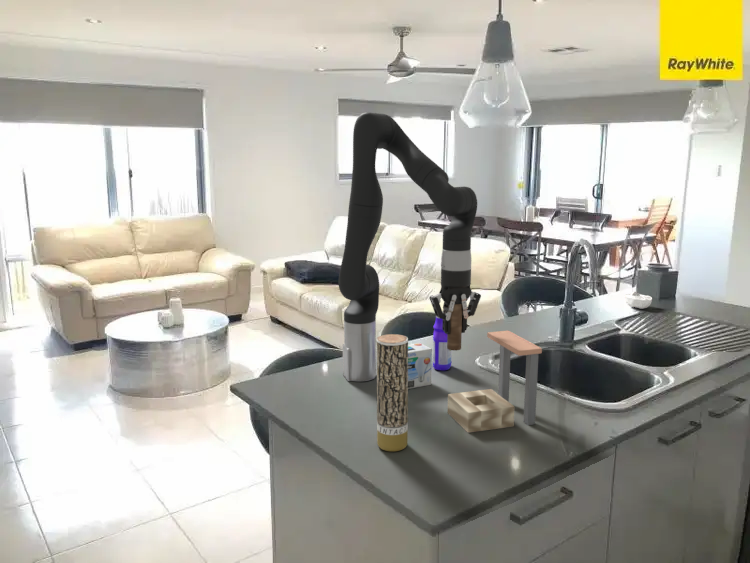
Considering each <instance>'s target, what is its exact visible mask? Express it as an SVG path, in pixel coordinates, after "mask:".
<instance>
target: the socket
mask: <svg viewBox="0 0 750 563" xmlns="http://www.w3.org/2000/svg"><path fill="white" fill-rule="evenodd" d="M447 415H449V416H450V417H451V418H452V419H453V420H454V421H455V422H456V423H457V424H459V426H460V427H461V428H463V430H465V431H466V432H467V433H475V432H482V431H489V430H496V429H497V430H498V429H504V428H511V427H514V426H515V406H514V405H513V404H512V403H511V402H508V401H506V400H505V399H504V398H502V397H501V396H500V395H498V393H497V392H496V391H495V390H493V388H490V389H489V388H488V389H479V390H472V391H471V390H470V391H464V392H454V393H448V394H447Z"/></svg>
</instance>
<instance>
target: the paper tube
mask: <svg viewBox="0 0 750 563" xmlns="http://www.w3.org/2000/svg"><path fill="white" fill-rule="evenodd" d="M408 345H409V338H408V336H406V335H403V334H397V333H393V334H392V333H391V334H383V335H379V336H376V430H377V432H376V433H377V434H376V436H377V437H376V438H377V441H376V444H377V446H378V448H379V449H381V450H383V451H386V452H391V453H392V452H399V451H402V450H404V449H405V448H406V447H407V446H408V437H409V436H408V430H409V429H408V428H409V426H408V424H409V423H408V422H409V420H408V419H409V416H408V415H409V414H408V413H409V412H408V410H409V407H408V406H409V389H408Z"/></svg>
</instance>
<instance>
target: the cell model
mask: <svg viewBox="0 0 750 563" xmlns="http://www.w3.org/2000/svg"><path fill="white" fill-rule="evenodd" d="M624 298H625V303H626V304H627V306H628V307H631V308H634V307H635V309H641V310H642V309H647V308H649V306H650V305H651V304H652V300H653V297H652V296H650V295H645V294H641V293H639V292H638V291H633V292H631V293H628V294H625V295H624Z"/></svg>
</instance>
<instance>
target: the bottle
mask: <svg viewBox="0 0 750 563" xmlns="http://www.w3.org/2000/svg"><path fill="white" fill-rule="evenodd" d="M442 312H443V310H442ZM442 326H443V320H442V319H440V318H439V317H437V316H436V315H435V322H434V325H433V329H434V330H433V336H432V340H433V341H432V343H433V344H432V346H433V347H432V368H433V369H434V370H437V371H447V370H450V368H451V366H452V350H449V349H447V334H446V333H445V332H444V331H443V329H442Z"/></svg>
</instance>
